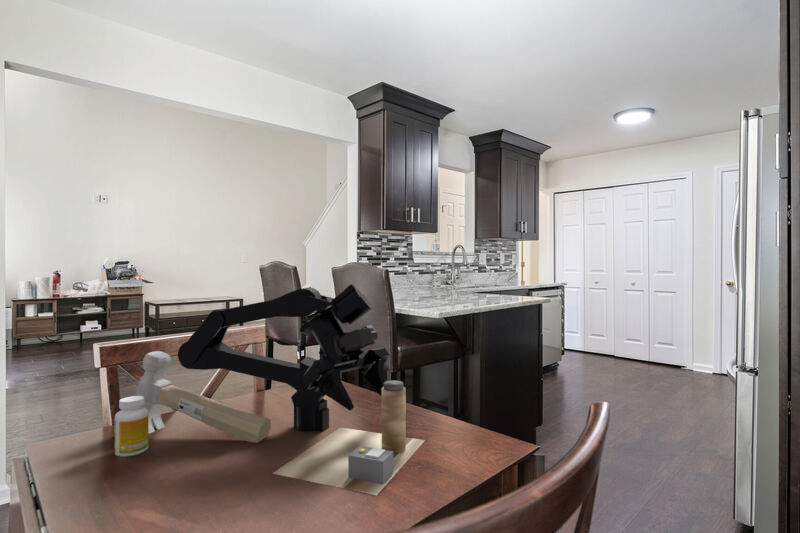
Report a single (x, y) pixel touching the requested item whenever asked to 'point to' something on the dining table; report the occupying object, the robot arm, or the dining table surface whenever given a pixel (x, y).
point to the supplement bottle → (131, 427)
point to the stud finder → (370, 464)
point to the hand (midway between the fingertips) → (370, 403)
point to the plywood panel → (342, 460)
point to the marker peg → (394, 417)
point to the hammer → (193, 404)
